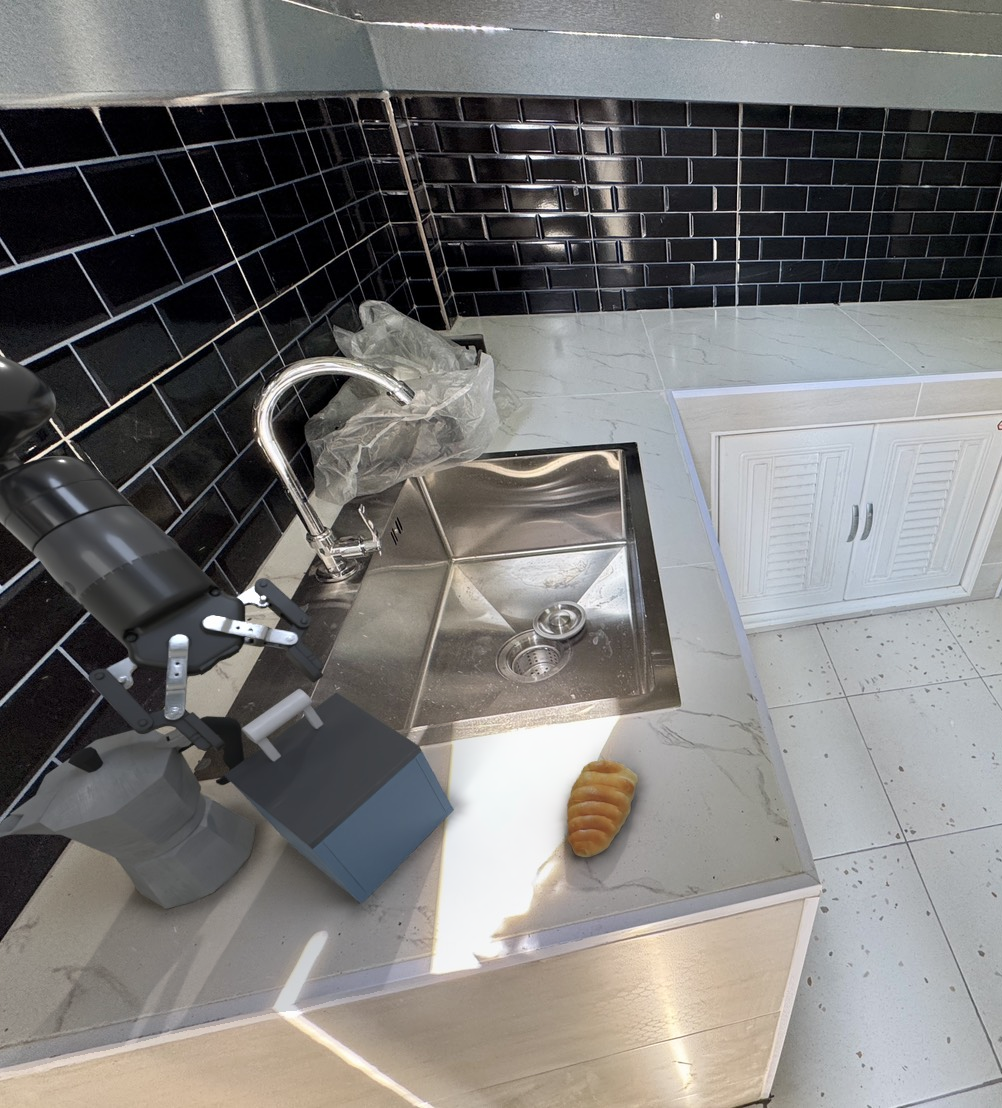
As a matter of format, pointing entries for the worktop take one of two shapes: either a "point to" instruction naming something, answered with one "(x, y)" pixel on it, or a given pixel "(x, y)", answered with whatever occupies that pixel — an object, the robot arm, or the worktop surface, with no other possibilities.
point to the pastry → (599, 806)
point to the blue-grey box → (377, 830)
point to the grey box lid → (319, 763)
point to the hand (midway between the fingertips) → (272, 712)
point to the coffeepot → (145, 812)
